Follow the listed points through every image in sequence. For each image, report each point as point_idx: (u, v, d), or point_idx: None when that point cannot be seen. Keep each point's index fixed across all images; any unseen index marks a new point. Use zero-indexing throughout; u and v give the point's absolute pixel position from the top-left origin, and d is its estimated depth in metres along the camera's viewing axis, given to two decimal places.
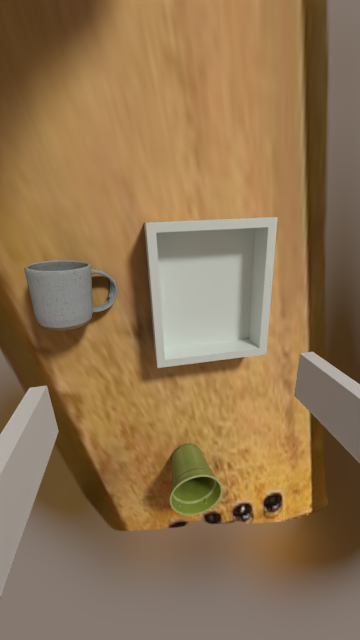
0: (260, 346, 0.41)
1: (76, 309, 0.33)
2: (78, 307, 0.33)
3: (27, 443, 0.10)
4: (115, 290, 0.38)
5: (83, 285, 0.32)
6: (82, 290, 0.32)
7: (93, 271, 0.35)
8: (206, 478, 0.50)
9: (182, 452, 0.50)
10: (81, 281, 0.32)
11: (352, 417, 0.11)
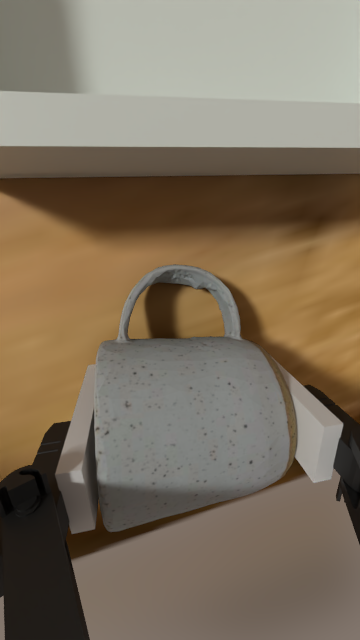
0: None
1: (235, 415, 0.10)
2: (228, 409, 0.10)
3: None
4: (180, 269, 0.13)
5: (154, 391, 0.09)
6: (171, 393, 0.09)
7: (121, 335, 0.12)
8: None
9: None
10: (140, 399, 0.09)
11: None
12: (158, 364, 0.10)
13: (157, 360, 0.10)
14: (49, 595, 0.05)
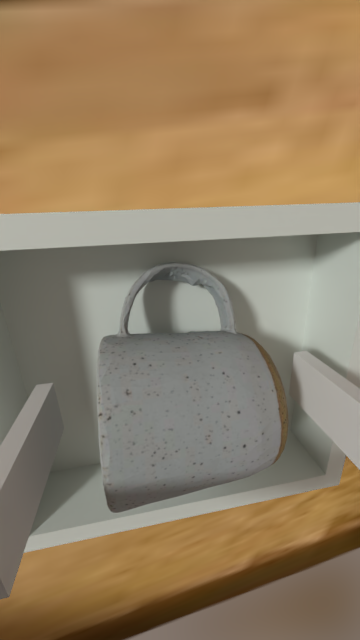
0: None
1: (229, 402, 0.10)
2: (222, 397, 0.10)
3: (36, 438, 0.10)
4: (177, 267, 0.13)
5: (152, 380, 0.10)
6: (169, 382, 0.10)
7: (121, 329, 0.12)
8: None
9: None
10: (139, 388, 0.10)
11: (344, 415, 0.11)
12: (156, 356, 0.11)
13: (155, 352, 0.11)
14: None
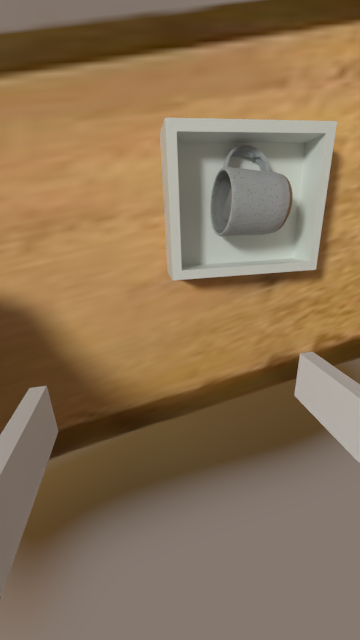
0: (324, 131, 0.31)
1: (271, 181, 0.29)
2: (269, 179, 0.29)
3: (27, 443, 0.10)
4: (246, 146, 0.32)
5: (246, 172, 0.29)
6: (251, 173, 0.29)
7: None
8: None
9: None
10: (242, 172, 0.29)
11: (352, 417, 0.11)
12: (244, 169, 0.30)
13: None
14: None
